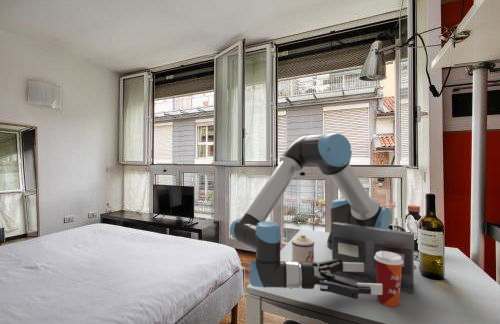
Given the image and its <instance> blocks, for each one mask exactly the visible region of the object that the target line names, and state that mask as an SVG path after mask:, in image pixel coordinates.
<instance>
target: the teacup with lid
mask: <svg viewBox="0 0 500 324" xmlns="http://www.w3.org/2000/svg"><path fill="white" fill-rule="evenodd" d="M291 245H292V246H291V247H292V248H291V257H292V261H293V262H298V263H299V264H300V263H301V262H311V263H312V264H313V262H315V260H314V259H315V253H314V252H315V251H314V250H315V246H314V245H315V241H314V240H313V239H312V238H309V237H307V236H306V234H300V236H298V237H295V238H293V239H292V241H291Z"/></svg>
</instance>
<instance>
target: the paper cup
mask: <svg viewBox="0 0 500 324" xmlns="http://www.w3.org/2000/svg"><path fill="white" fill-rule="evenodd" d="M374 259H375V263H376V280H377V283H378V284H382V295H377V302H379V303H380V304H382V305H384V306H386V307H390V308H396V307H398V306H399V305H400V294H401V291H400V285H401V272H402V264H403V260H402V257H401V256H400V255H398V254H396V253H392V252H387V251H379V252H376V255H375V256H374Z"/></svg>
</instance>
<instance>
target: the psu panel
mask: <svg viewBox="0 0 500 324" xmlns="http://www.w3.org/2000/svg"><path fill="white" fill-rule="evenodd" d="M331 250H332V251H331V252H332V256H331V258H332V259H331V260H333V259H338V260H339V259H342V263H343V262H353V263H364V272H348V271H343V268H342V270H340V271H338V272H336V273H333V274H332V275H337V276H342V277H345V278H348V279H353V280H357V281H360V282H363V283H377V280H376V263H375V259H374V256H375V255H376V252H379V251H387V252H392V253H396V254H398V255H400V256H401V257H402V260H403V264H402V272H401V285H400V292H404V293H408V294H414V281H415V280H414V273H415V272H414V271H415V269H414V268H415V267H414V265H415V263H414V262H415V261H414V259H415V257H414V256H415V250H414V233H411V232H405V231H403V230H395V229H389V228H388V229H382V228H375V227H368V226H360V225H353V224H346V223H339V222H334V223H333V224H332V249H331ZM334 263H335V262H334Z"/></svg>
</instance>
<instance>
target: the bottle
mask: <svg viewBox="0 0 500 324" xmlns="http://www.w3.org/2000/svg"><path fill="white" fill-rule="evenodd" d="M420 212H421V206H419V205H413V204H409V205H407V214H406V215H405V218H404V219H405V221H404V222H406V219H407V217H408V216H409V215H412V216H413V217H414V219H415V220H417V221H418V220H419V219H420V218H421V217H422V216H421V214H420ZM414 252H418V243H417V239H416V240H414Z"/></svg>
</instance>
